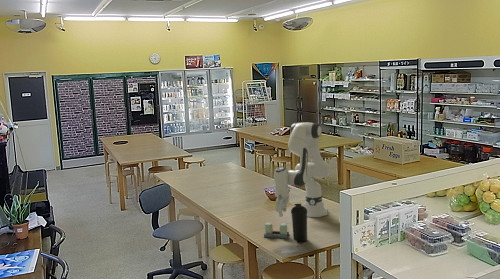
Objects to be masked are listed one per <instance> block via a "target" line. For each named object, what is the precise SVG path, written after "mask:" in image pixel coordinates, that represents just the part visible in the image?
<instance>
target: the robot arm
mask: <svg viewBox="0 0 500 279" xmlns="http://www.w3.org/2000/svg"><path fill="white" fill-rule="evenodd" d="M289 132H290V135H289V139H288V140H287V141H288V142H287V148H288V150H289V151H290V152H291V153H292V154H294V155H296V156H298V157H299V163H297V164H296V165H295V167H294V170H293V169H288V168H286V167H285V166H278V167H276V168H275V169H274V172H273V183H274V196H275V197H276V199H275V211H276V212H277V213H278V215H279V216H278V217H280V218H281V217H283V216H284V214H283V213H284V212H285V213H286V212H287V205H288V204H289V202H290V192H291V189H290V188H289V186H295V187H300V188H302V187H303V186H305V187H304V188H305V201H304V203H303V206H304V207H305V208H306V209H307V218H320V217H324V216H327V215H328V211H327V210H328V209H327V207H325V204H324V201H323V195H322V186H321V184H320V183H319V182H317V181H316V180H314V179H313V178H315V179H316V178H328V177H329V176H330V174H331V173H332V172H331V171H332V168H331V165H329V163H328V162H326V161H325V160H324V159H323V158H322V156H321V150H320V140H319V138H320V137H321V135H322V126H321V125H320V123H316V122H307V121H305V122H294V123H292V124H291V125H290V128H289ZM308 159H309V160H311V162H309V160H308Z"/></svg>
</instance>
